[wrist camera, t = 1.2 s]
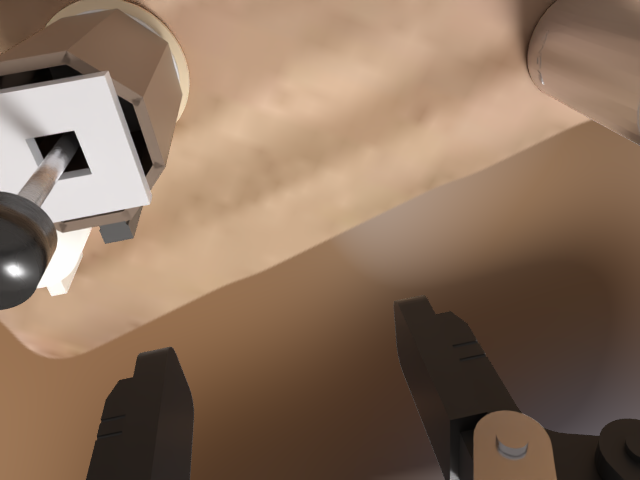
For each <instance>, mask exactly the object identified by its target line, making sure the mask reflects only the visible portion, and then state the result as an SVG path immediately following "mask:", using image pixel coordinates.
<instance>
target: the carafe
mask: <svg viewBox="0 0 640 480" xmlns="http://www.w3.org/2000/svg"><path fill="white" fill-rule="evenodd" d="M189 86H190V78H189V69H188V64H187V61H186V58H185V55H184V52H183V50H182V48H181V46H180V44H179V42H178V41H177V39H176V38H175V36H174V35H173V34H172V32H171V31H170V30H169V29H168V27H167V26H166V25H165V24H164V23H163V22H162V21H161V20H159V19H158V18H157V17H156V16H154V15H153V14H152V13H150V12H149V11H147V10H145V9H144V8H142V7H140V6H138V5H135V4H133V3H131V2H127V1H124V0H80V1H78V2H75V3H73V4H70V5H69V6H67V7H65V8H64V9H62V10H60V11H59V12H58V13H57V14H56V15H54V16H53V17H52V18H51V20H50V21H49V22H48V23H47V24H46V26H45V28H44V29H42V30H40V31H39V32H37V33H35V34H34V35H32V36H30V37H29V38H27V39H25V40H24V41H22V42H20V43H19V44H17V45H15V46H14V47H12V48H11V49H9V50H7V51H6V52H4V53H2V54H1V55H0V191H2V192H8V193H13V194H16V195H17V194H18V193H19V192H20V190H21V189H22V188H23V186H24V185H25V184H26V182H27V181H28V180H29V179H30V177H31V176H32V175H33V173H34V172H35V171H36V169H37V168H38V167H39V165H40V164H41V163H42V161H43V160H44V159H45V157H46V156H47V155H48V153H49V152H50V151H51V149H52V148H53V147H54V145H55V144H56V143H57V141H58V140H59V139H60V137H61V136H62V135H63V133H64V132H68V131H75V134H76V136H77V138H78V141H79V143H80V146H79V148H78V149H77V151H76V153H75V154H74V156H73V157H72V159H71V160H70V162H69V164H68V165H67V167H66V168H65V170H64V171H63V173H62V175H61V176H60V178H59V179H58V181H57V182H56V184H55V185H54V187H53V189H52V190H51V192H50V193H49V195H48V196H47V198H46V200H45V201H44V203H43V204H42V206H41V207H40V208H41V209H43V210H44V211H45V212H46V214H47V215H48V216H49V217H50V219H51V220H52V222H53V224H54V226H55V228H56V230H58V231H60V232H62V233H65V232H70V231H76V230H81V229H86V228H91V227H96V226H100V230H99V231H100V233H101V235H102V238H103V240H104V242H105V244H106V243H111V242H117V241H122V240H127V239H132V238H134V235H135V231H136V228H137V224H138V221H139V217H140V214H141V210H142V207H143V206H144V205H149V204H150V203H151V199H152V194H151V191H150V190H151V189H152V187H153V186H154V184H155V182H156V181H157V179H158V178H159V176H160V175H161V173H162V172H163V170H164V168H165V167H166V163H167V159H168V154H169V150H170V146H171V142H172V138H173V133H174V129H175V125H176V122H177V121H178V119H179V118H180V116H181V114H182V113H183V111H184V108H185V106H186V103H187V99H188V94H189Z"/></svg>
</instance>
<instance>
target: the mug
mask: <svg viewBox="0 0 640 480" xmlns="http://www.w3.org/2000/svg"><path fill="white" fill-rule="evenodd" d="M91 229H92V227H91V228H86V229H81V230H76V231H70V232H65V233H62V232H60V231H58V230H56V232H57V238H58V242H57V247H56V251H55V253H54V255H53V257H52V259H51V261H50V263H49V265H48V266H47V268H46V270H45V272H44V274H43V276H42V278H41V280H40V282H39V284H38V286H37V288H42V287H46V286H47V288H48V290H49V292H50V294H51V296H55V295H60V294H65V293H67V292H68V290H69V287H70V285H71V282H72V280H73V278H74V275H75V273H76V271H77V268H78V266H79V263H80V261H81V259H82V256H83V253H82V250H83V248H84V245H85V243H86V241H87V238H88V236H89V234H90V232H91Z"/></svg>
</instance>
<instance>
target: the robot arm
mask: <svg viewBox="0 0 640 480" xmlns="http://www.w3.org/2000/svg"><path fill="white" fill-rule="evenodd" d="M527 56H528V69H529V73H530V76H531V78H532V80H533V82H534V84H535V85H536V86H537V87H538V88H539V89H540V91H542V92H543V93H545V94H547V95H548V96H550V97H552V98H554V99H556V100H558V101H559V102H561V103H563V104H565V105H567V106H568V107H570V108H572V109H574V110H575V111H577V112H579V113H581V114H583V115H585V116H586V117H588V118H590V119H592V120H594V121H596V122H598V123H599V124H601V125H603V126H605V127H607V128H609V129H611V130H612V131H614V132H616V133H618V134H620V135H622V136H623V137H626V138H627V139H629V140H631V141H633V142H634V143H637V144H638V145H640V0H557V1H556V2H555V3H553V4H552V5H551V6H550V7H549V8H548V9H547V11H546V12H545V13H544V15H543V16H542V17H541V18H540V20H539V22H538V24H537V25H536V27H535V29H534V31H533V34H532V37H531V40H530V43H529V48H528V54H527ZM394 317H395V330H396V343H397V352H398V357H399V361H400V365H401V368H402V371H403V374H404V377H405V379H406V382H407V384H408V387H409V389H410V392H411V394H412V397H413V399H414V402H415V404H416V407H417V410H418V412H419V415H420V417H421V420H422V422H423V425H424V427H425V430H426V433H427V435H428V437H429V440H430V443H431V445H432V448H433V450H434V453H435V455H436V458H437V461H438V463H439V466H440V468H441V471H442V473H443V476H444V478H445V480H640V420H637V419H619V420H615V421H612V422H610V423H609V424H607V425H606V426H605V427H604V428H603V429H602V431H601V433H600V436H592V435H578V434H566V433H558V432H554V431H551V430H548V429H545V428H543V427H542V426H541V425H540V424H539V423H538V422H537V421H535V420H534V419H532V418H531V417H529V416H527V415H524V414H523V413H522V412H521V411H520V410H519V408H518V407H517V406H516V404H515V402H514V401H513V399H512V397H511V396H510V394H509V392H508V391H507V389H506V387H505V386H504V384H503V382H502V381H501V379H500V377H499V376H498V374H497V372H496V371H495V369H494V367H493V366H492V364H491V362H490V361H489V359H488V357H486V355H485V352H484V351H483V349H482V348H481V346H480V344H479V343H478V342H477V339H476V337H475V336H474V334H473V332H472V331H471V329H470V327H469V326H468V324H467V323H466V322H464V321H463V320H462V319H460V318H459V317H458V316H456V315H455V314H453V313H452V312H445V313H440V314H435V312H434V311H433V309H432V307H431V305H430V303H429V301H428V299H427V298H426V296H425V295H421V296H417V297H411V298H407V299H402V300H397V301H394ZM193 423H194V407H193V400H192V395H191V391H190V388H189V386H188V383H187V381H186V378H185V376H184V373H183V370H182V368H181V366H180V363H179V361H178V358H177V355H176V353H175V351H174V349H173V348H172V347H167V348H162V349H158V350H153V351H148V352H143V353H140V354H139V355H138V357H137V361H136V366H135V371H134V376H133V377H132V378H127V379H122V380H119V381H118V383H117V384H116V386H115V387H114V389H113V390H112V392H111V393H110V394H109V396H108V397H107V399H106V402H105V406H104V410H103V413H102V417H101V424H100V425H99V430H98V434H97V440H96V442H95V446H94V450H93V454H92V458H91V462H90V466H89V470H88V474H87V478H86V480H190V470H191V454H192V438H193Z"/></svg>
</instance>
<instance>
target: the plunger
mask: <svg viewBox="0 0 640 480" xmlns="http://www.w3.org/2000/svg"><path fill="white" fill-rule="evenodd" d="M79 146H80V143H79V141H78V138H77V136H76V134H75V131H68V132H64V133H63V135H62V136H61V137H60V139H59V140H58V141H57V143H56V144H55V145H54V147H53V148H52V149H51V151H50V152H49V153H48V155H47V156H46V157H45V159H44V160H43V161H42V163H41V164H40V165H39V167H38V168H37V169H36V171H35V172H34V173H33V175H32V176H31V177H30V179H29V180H28V181H27V182H26V184H25V185H24V186H23V188H22V189H21V190H20V192H19V193H18V194H17V195H16V194H13V193H8V192H2V191H0V310H3V309H8V308H12V307H15V306H17V305H19V304H21V303H23V302H25V301H26V300H27V299H29V298H30V297H31V296H32V294H33V293H34V292H35V290H36V288H37V286H38V284H39V282H40V280H41V278H42V276H43V274H44V272H45V270H46V268H47V266H48V265H49V263H50V261H51V259H52V257H53V255H54V253H55V251H56V247H57V242H58V238H57V232H56V228H55V226H54V224H53V222H52V220H51V219H50V217H49V216H48V215H47V214H46V212H45V211H44V210H43V209H41V208H40V207H41V206H42V204H43V203H44V201H45V200H46V198H47V196H48V195H49V193H50V192H51V190H52V189H53V187H54V185H55V184H56V182H57V181H58V179H59V178H60V176H61V175H62V173H63V171H64V170H65V168H66V167H67V165H68V164H69V162H70V160H71V159H72V157H73V156H74V154H75V153H76V151H77V149H78V148H79Z"/></svg>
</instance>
